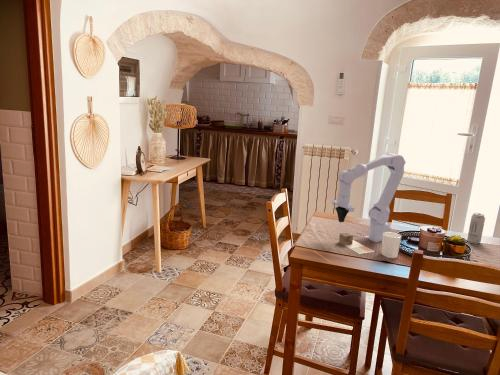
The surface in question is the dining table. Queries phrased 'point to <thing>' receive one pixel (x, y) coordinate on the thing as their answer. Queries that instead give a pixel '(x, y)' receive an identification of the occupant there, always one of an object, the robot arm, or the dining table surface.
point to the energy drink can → (476, 228)
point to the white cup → (391, 244)
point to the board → (359, 248)
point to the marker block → (346, 238)
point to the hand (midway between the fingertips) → (341, 221)
